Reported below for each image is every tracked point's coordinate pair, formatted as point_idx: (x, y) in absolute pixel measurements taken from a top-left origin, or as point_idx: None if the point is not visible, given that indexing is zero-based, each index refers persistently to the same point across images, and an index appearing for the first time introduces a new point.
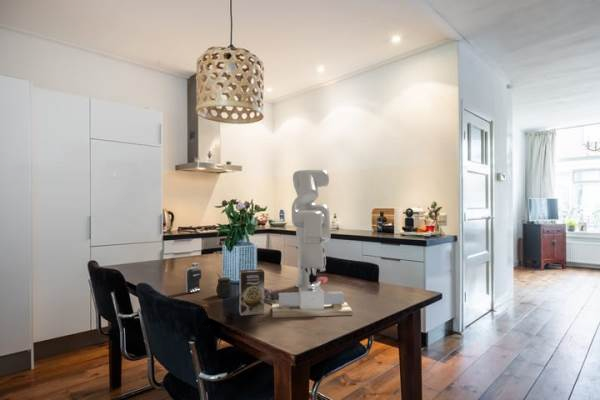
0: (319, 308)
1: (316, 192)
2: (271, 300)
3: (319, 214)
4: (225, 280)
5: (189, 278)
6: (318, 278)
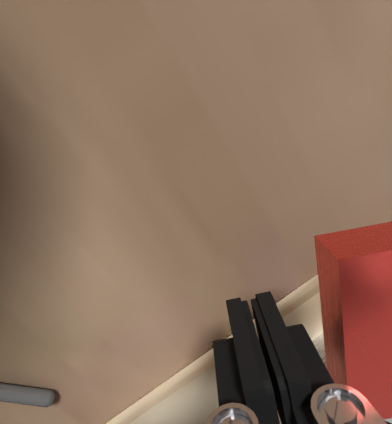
0: None
1: None
2: (15, 402)
3: None
4: None
5: None
6: (363, 381)
